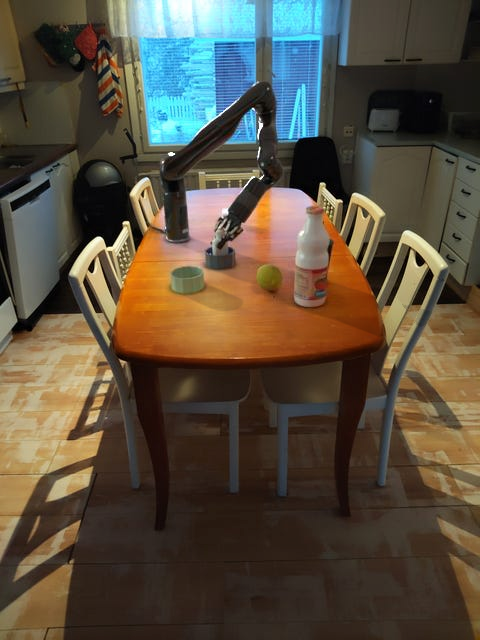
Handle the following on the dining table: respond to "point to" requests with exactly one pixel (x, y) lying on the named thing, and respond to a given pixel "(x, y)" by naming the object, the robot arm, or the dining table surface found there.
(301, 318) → the dining table surface
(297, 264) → the fruit juice
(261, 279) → the lemon
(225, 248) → the eye dropper bottle
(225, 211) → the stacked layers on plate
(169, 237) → the robot arm
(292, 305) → the dining table surface
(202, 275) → the celadon cup
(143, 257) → the dining table surface
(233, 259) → the slate cup
